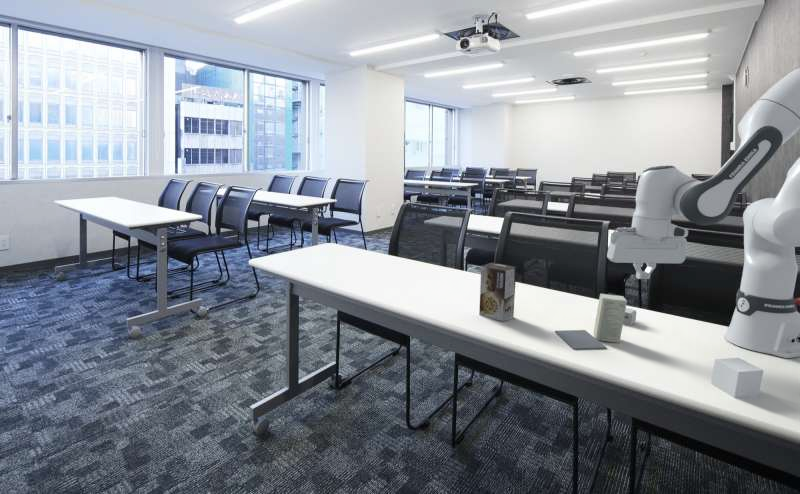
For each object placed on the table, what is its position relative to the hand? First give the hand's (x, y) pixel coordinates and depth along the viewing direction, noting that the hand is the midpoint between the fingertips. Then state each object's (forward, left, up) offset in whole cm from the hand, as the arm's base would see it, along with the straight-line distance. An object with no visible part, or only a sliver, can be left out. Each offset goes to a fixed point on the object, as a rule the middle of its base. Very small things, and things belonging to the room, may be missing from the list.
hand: (642, 278), depth 123 cm
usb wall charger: (-5, -13, -18) cm, 22 cm away
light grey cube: (-5, +28, -18) cm, 34 cm away
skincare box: (+9, 0, -17) cm, 19 cm away
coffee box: (+34, -20, -18) cm, 43 cm away
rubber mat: (+16, 0, -17) cm, 24 cm away
